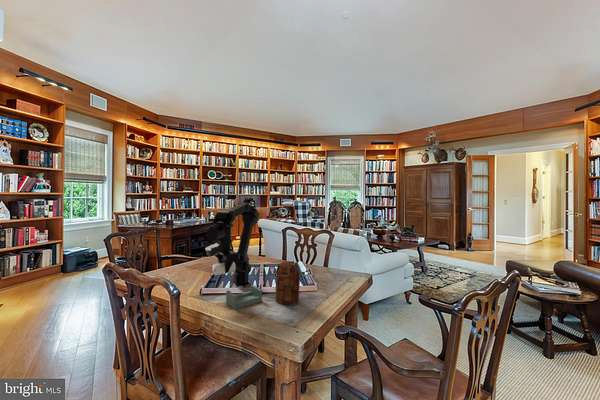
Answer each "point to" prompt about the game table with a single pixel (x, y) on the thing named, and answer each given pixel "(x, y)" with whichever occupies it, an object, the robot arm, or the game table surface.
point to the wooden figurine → (287, 283)
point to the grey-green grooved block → (244, 298)
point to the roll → (222, 268)
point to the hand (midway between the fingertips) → (224, 271)
